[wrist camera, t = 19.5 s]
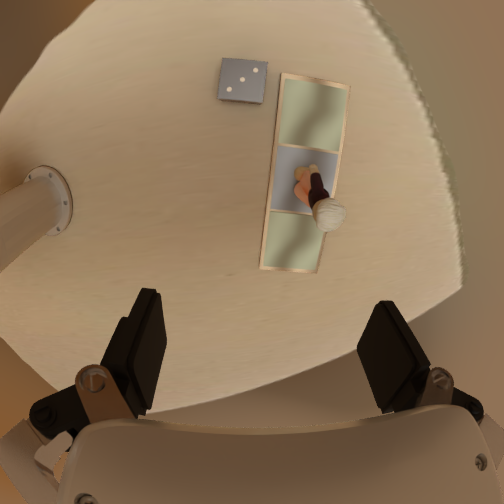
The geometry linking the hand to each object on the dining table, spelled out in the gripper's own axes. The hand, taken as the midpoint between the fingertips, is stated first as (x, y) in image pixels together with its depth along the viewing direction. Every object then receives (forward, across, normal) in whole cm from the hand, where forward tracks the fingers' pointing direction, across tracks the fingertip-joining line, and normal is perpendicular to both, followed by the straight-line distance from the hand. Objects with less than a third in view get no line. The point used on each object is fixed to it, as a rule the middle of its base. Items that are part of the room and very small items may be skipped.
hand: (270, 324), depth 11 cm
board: (+28, -7, 0) cm, 28 cm away
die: (+28, +2, -12) cm, 31 cm away
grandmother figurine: (+27, -7, 0) cm, 28 cm away
